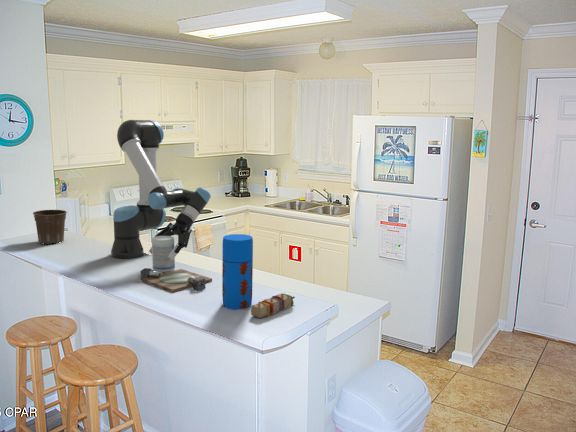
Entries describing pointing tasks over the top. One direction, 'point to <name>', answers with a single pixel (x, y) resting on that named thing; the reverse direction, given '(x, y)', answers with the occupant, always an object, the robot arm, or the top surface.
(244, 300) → the thermos
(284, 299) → the skewer
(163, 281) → the board
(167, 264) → the supplement tub
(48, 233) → the plant pot
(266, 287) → the top surface
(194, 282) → the shaft
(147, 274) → the shaft
